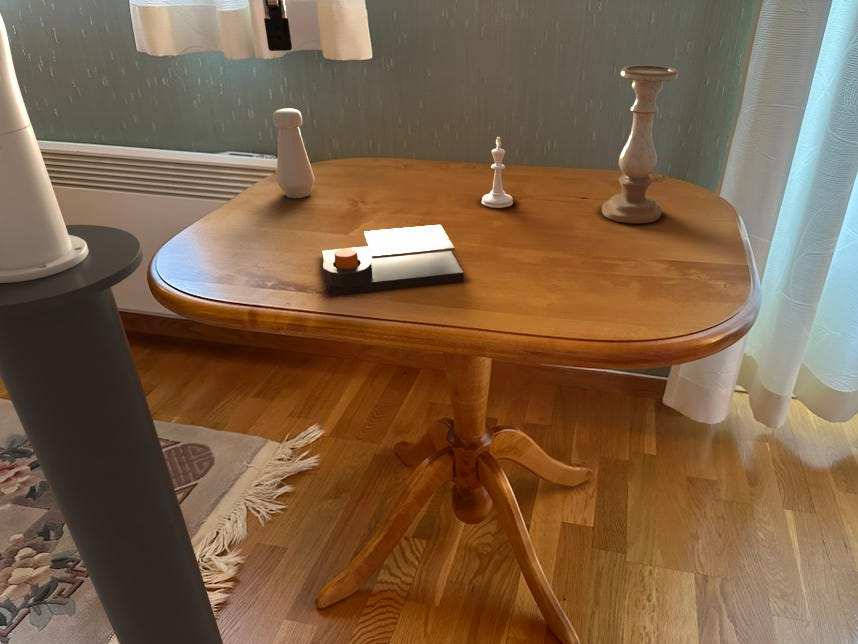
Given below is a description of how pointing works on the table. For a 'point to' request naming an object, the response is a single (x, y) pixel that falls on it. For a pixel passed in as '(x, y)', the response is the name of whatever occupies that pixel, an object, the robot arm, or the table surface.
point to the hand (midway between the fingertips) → (280, 49)
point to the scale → (390, 272)
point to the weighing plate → (407, 241)
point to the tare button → (346, 258)
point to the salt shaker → (292, 155)
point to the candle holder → (639, 148)
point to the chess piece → (497, 182)
